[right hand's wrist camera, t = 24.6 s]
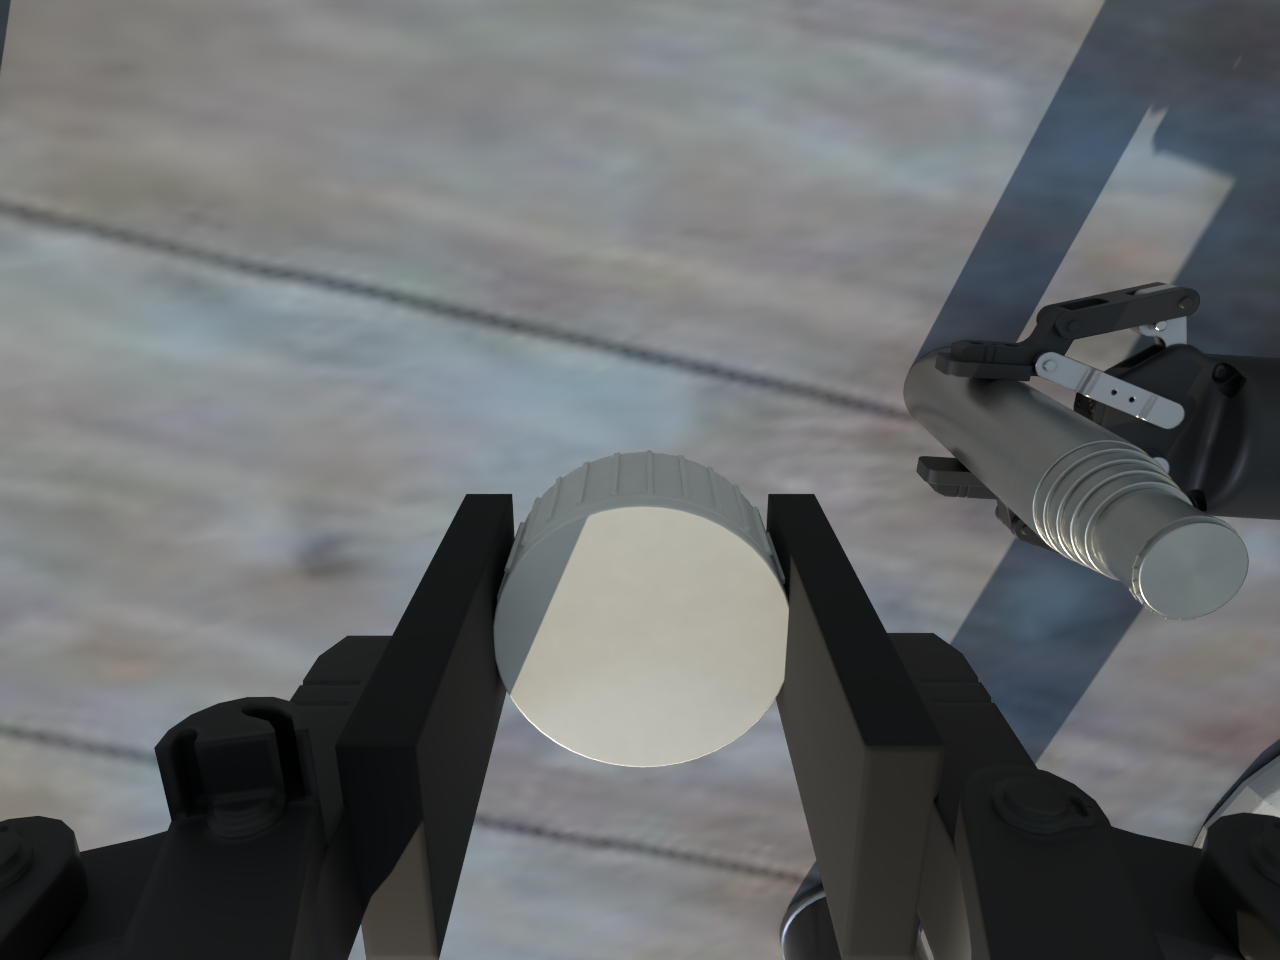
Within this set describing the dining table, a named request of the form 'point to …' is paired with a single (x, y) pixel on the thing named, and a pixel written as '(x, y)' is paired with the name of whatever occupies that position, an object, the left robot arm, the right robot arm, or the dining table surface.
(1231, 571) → the bottle
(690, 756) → the cap
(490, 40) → the dining table surface
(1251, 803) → the wall clock
